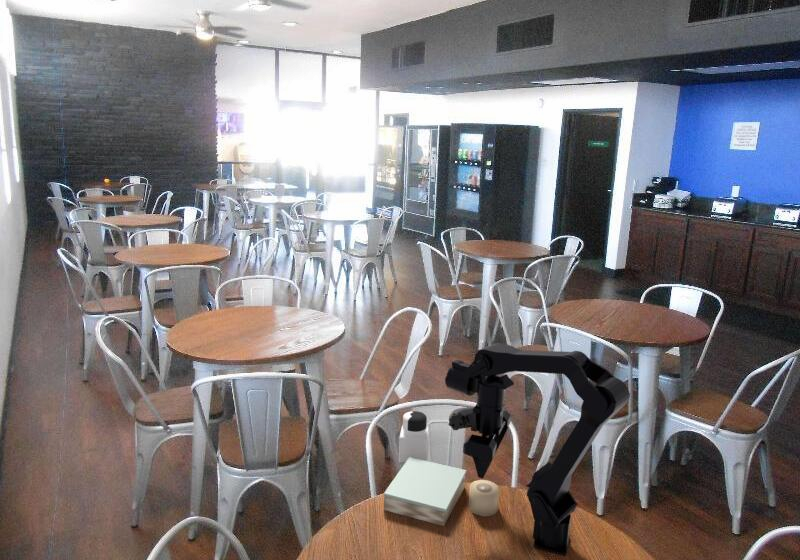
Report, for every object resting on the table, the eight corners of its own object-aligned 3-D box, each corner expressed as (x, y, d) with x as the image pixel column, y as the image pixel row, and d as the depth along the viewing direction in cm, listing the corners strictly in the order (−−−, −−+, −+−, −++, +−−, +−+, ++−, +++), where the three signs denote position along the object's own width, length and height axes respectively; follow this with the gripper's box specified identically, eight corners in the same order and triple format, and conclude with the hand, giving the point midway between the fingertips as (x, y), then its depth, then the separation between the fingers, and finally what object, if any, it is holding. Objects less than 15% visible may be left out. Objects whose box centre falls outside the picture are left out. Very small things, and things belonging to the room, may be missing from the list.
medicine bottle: (428, 451, 157) (429, 409, 154) (426, 465, 150) (428, 421, 147) (401, 449, 157) (402, 407, 155) (398, 463, 150) (399, 419, 148)
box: (464, 487, 141) (465, 475, 140) (443, 526, 126) (444, 513, 125) (409, 473, 146) (410, 462, 145) (383, 509, 131) (384, 497, 130)
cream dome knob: (500, 503, 135) (501, 483, 134) (493, 519, 129) (495, 498, 128) (472, 496, 137) (474, 477, 136) (465, 512, 131) (466, 491, 130)
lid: (466, 473, 140) (466, 470, 139) (446, 512, 126) (446, 509, 125) (409, 459, 145) (409, 457, 145) (383, 496, 131) (383, 493, 131)
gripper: (465, 380, 139) (462, 441, 142) (440, 412, 122) (438, 480, 125) (513, 388, 135) (508, 450, 138) (494, 422, 118) (489, 492, 121)
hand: (486, 467), depth 131 cm, fingers open, 9 cm apart
